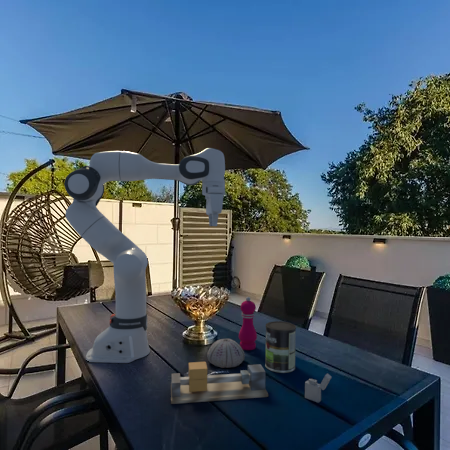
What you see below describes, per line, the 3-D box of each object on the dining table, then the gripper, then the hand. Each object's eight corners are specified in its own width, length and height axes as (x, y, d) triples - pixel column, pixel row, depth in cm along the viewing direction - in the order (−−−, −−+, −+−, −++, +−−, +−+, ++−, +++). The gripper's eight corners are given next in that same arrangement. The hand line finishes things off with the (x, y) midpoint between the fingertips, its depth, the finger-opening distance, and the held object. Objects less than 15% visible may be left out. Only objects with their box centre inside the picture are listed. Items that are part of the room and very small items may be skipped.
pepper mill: (255, 351, 127) (256, 299, 127) (237, 349, 128) (237, 298, 128) (257, 344, 134) (258, 295, 134) (240, 343, 135) (240, 294, 135)
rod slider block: (171, 403, 89) (171, 381, 89) (171, 386, 99) (171, 366, 99) (268, 396, 93) (268, 375, 93) (258, 380, 103) (259, 361, 103)
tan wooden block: (189, 391, 92) (189, 369, 92) (188, 383, 97) (188, 362, 97) (207, 390, 93) (207, 368, 93) (205, 382, 98) (205, 361, 98)
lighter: (304, 397, 93) (304, 369, 93) (307, 395, 94) (307, 367, 94) (329, 406, 88) (329, 376, 88) (331, 404, 90) (332, 374, 90)
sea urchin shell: (239, 354, 124) (240, 332, 124) (248, 369, 111) (248, 345, 111) (204, 356, 122) (205, 334, 122) (209, 372, 109) (209, 347, 109)
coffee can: (275, 375, 107) (275, 331, 107) (259, 363, 116) (260, 322, 116) (301, 370, 111) (302, 328, 111) (284, 358, 120) (284, 319, 120)
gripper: (202, 193, 139) (202, 226, 139) (208, 187, 119) (208, 226, 118) (217, 193, 140) (217, 226, 140) (225, 188, 120) (225, 226, 119)
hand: (213, 226), depth 129 cm, fingers open, 8 cm apart
